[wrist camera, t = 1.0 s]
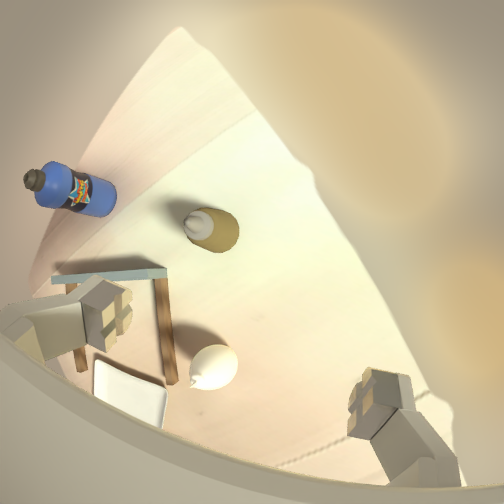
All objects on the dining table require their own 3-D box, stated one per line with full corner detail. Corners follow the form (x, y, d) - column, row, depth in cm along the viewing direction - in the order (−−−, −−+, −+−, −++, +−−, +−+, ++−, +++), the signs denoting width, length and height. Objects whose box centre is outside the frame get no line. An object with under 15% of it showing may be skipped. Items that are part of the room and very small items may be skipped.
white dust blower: (210, 375, 63) (173, 408, 45) (204, 339, 63) (163, 364, 46) (246, 373, 61) (218, 410, 44) (240, 337, 62) (209, 363, 44)
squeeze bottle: (218, 261, 63) (178, 260, 46) (198, 227, 65) (154, 215, 47) (252, 239, 62) (223, 229, 44) (231, 205, 63) (196, 184, 46)
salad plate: (101, 354, 70) (93, 357, 67) (174, 384, 65) (167, 390, 62) (100, 421, 70) (92, 426, 67) (166, 453, 65) (160, 460, 62)
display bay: (178, 380, 64) (161, 393, 57) (84, 369, 71) (64, 376, 63) (166, 268, 66) (147, 268, 58) (72, 275, 72) (51, 275, 64)
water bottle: (121, 183, 70) (45, 155, 45) (111, 221, 70) (31, 206, 45) (95, 178, 72) (21, 152, 47) (85, 213, 72) (9, 198, 48)
